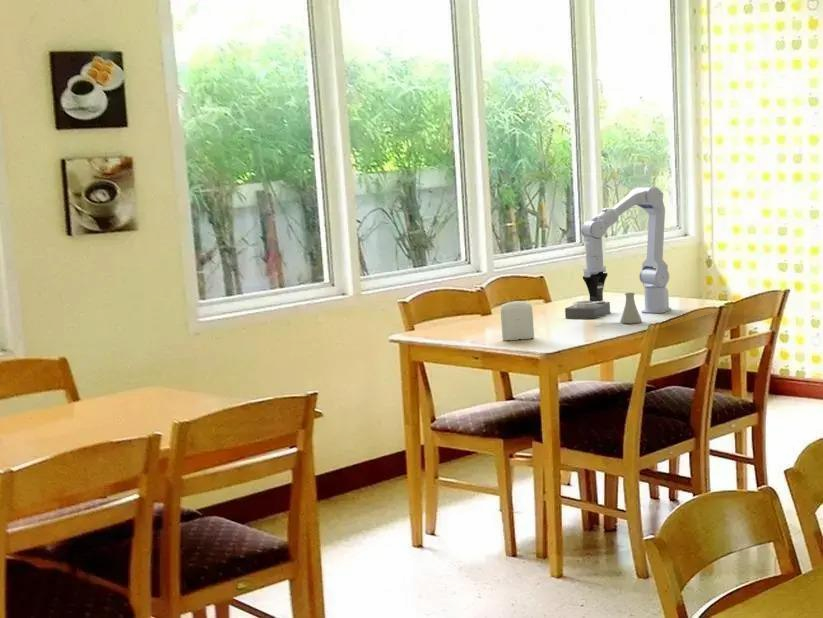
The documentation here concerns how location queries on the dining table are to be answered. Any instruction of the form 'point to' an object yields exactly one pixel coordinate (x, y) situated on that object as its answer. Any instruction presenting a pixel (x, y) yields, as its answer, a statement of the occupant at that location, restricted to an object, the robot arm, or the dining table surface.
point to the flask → (630, 310)
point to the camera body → (587, 309)
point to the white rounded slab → (517, 321)
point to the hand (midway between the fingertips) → (596, 295)
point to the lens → (598, 293)
